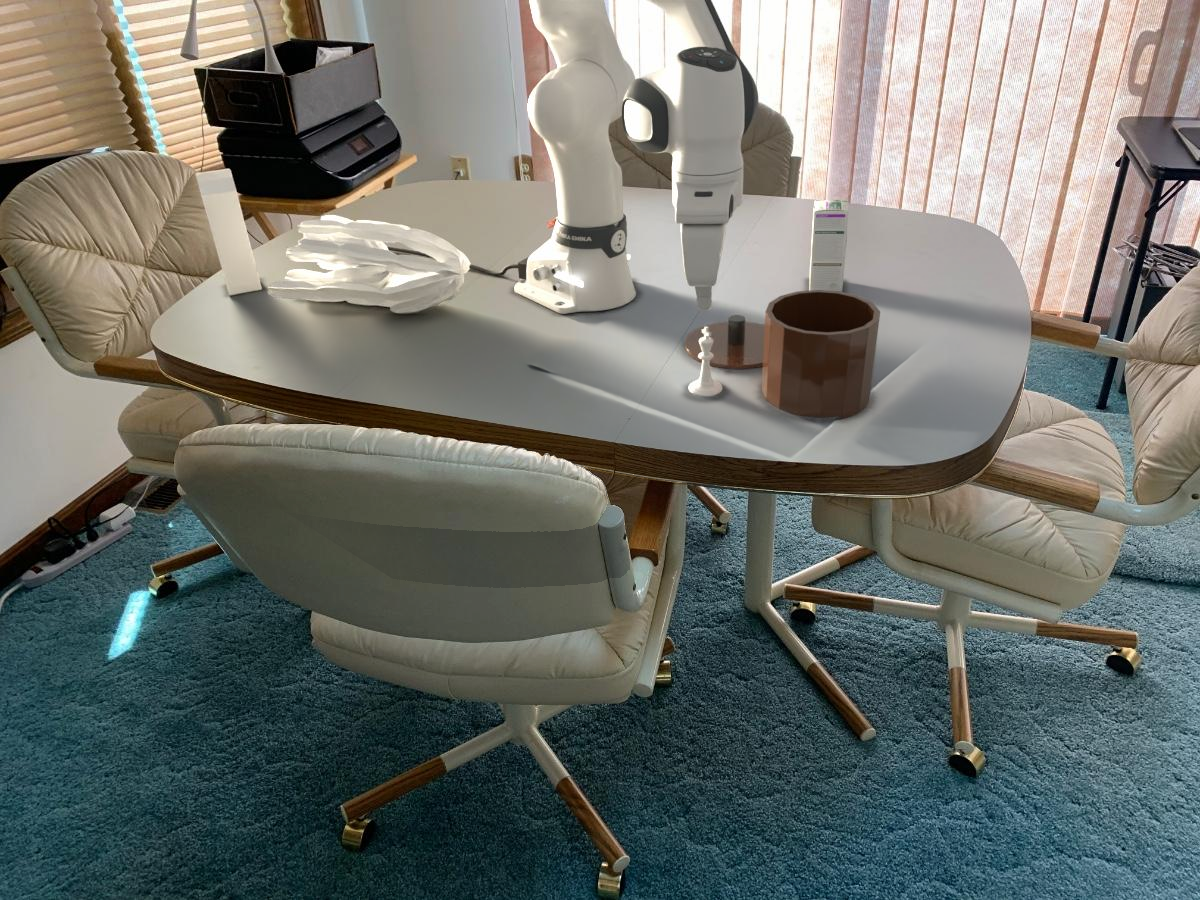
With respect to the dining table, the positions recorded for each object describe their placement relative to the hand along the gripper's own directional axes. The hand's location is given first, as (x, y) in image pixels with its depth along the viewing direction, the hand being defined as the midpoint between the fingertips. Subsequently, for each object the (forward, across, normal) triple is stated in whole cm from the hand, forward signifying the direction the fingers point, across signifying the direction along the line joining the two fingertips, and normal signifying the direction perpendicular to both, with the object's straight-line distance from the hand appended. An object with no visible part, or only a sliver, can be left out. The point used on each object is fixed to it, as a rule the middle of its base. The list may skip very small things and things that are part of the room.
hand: (707, 293), depth 122 cm
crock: (+15, -1, +15) cm, 21 cm away
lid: (+14, -14, +3) cm, 21 cm away
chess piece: (+15, 0, 0) cm, 15 cm away
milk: (+14, -34, -91) cm, 98 cm away
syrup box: (+15, -41, +17) cm, 47 cm away
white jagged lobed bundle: (+14, -27, -61) cm, 68 cm away
